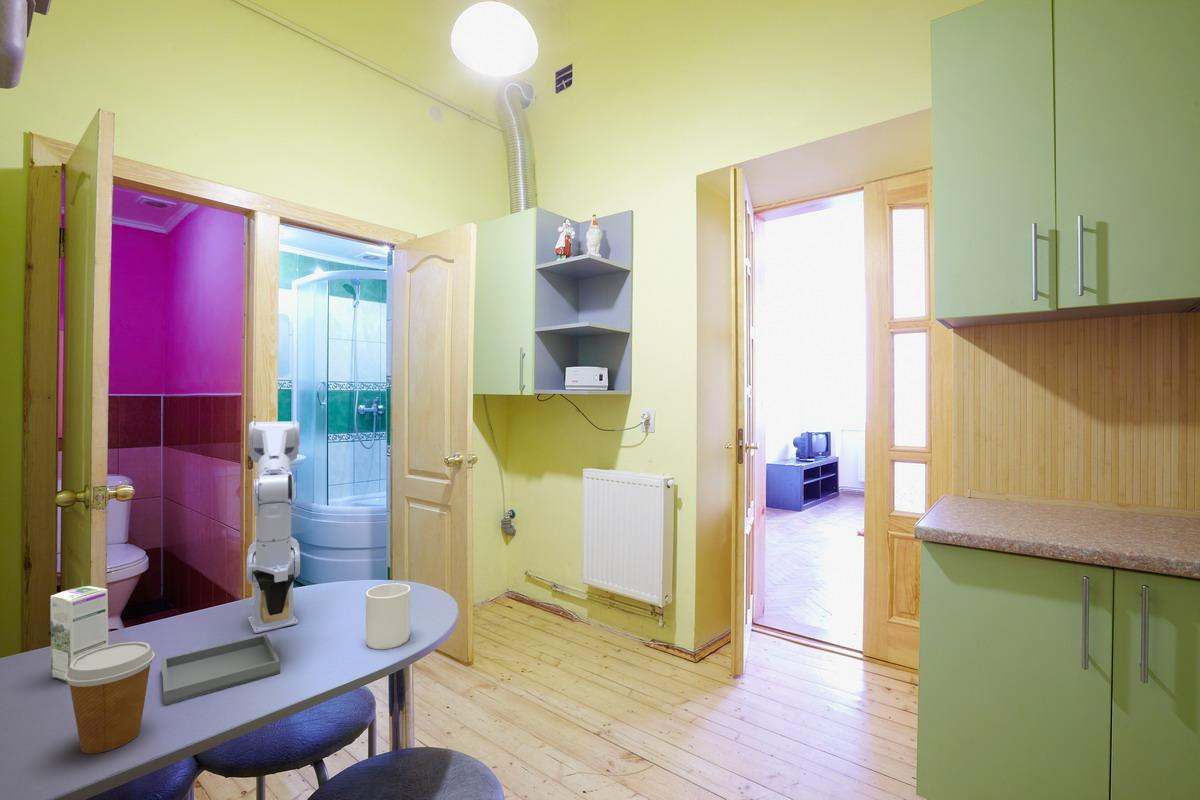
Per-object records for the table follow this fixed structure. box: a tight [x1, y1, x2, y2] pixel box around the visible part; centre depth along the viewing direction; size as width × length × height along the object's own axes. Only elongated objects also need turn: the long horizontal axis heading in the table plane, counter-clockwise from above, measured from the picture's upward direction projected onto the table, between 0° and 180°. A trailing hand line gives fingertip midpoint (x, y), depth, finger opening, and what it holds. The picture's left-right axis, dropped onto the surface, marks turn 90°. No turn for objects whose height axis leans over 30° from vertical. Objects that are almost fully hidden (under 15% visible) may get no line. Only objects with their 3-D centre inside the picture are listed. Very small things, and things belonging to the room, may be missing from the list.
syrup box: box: [50, 585, 109, 683], centre depth 96 cm, size 6×6×14 cm
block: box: [260, 590, 289, 624], centre depth 103 cm, size 4×4×5 cm
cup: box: [365, 582, 411, 650], centre depth 111 cm, size 8×12×10 cm
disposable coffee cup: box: [64, 641, 156, 754], centre depth 77 cm, size 10×10×12 cm
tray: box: [161, 633, 281, 706], centre depth 96 cm, size 14×16×2 cm
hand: (273, 610), depth 103 cm, fingers closed on block, 4 cm apart
